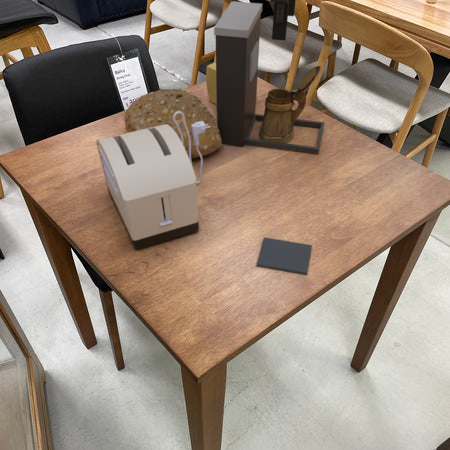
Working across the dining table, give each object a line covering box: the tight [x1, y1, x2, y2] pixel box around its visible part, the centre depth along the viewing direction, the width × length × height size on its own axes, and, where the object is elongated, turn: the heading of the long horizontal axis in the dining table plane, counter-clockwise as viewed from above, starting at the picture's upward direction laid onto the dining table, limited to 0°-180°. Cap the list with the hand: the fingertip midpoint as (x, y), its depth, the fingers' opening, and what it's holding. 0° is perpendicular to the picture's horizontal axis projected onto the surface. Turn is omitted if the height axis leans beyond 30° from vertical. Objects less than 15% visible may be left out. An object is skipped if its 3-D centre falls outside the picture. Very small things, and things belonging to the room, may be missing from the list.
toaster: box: [95, 111, 211, 250], centre depth 92 cm, size 23×25×17 cm
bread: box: [123, 88, 223, 159], centre depth 110 cm, size 24×21×12 cm
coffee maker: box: [213, 0, 325, 155], centre depth 107 cm, size 26×17×28 cm, turn 76°
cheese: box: [205, 61, 217, 105], centre depth 125 cm, size 10×11×10 cm
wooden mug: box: [258, 65, 322, 143], centre depth 110 cm, size 9×14×18 cm, turn 86°
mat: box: [255, 236, 313, 276], centre depth 88 cm, size 10×8×1 cm
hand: (283, 27), depth 92 cm, fingers open, 13 cm apart
